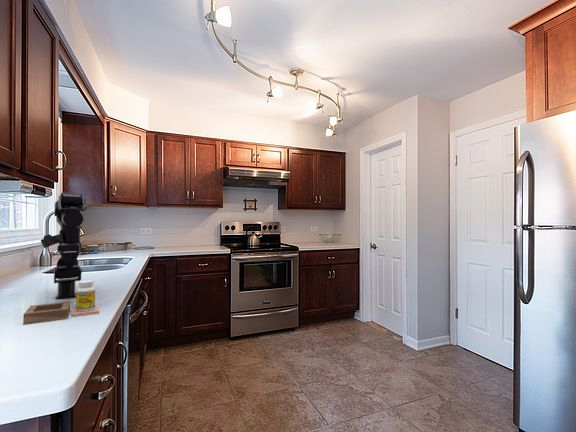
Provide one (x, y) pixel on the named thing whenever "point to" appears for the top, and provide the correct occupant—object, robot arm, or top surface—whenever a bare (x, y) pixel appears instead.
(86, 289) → the supplement bottle
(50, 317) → the pocket block
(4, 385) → the top surface
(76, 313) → the coaster
